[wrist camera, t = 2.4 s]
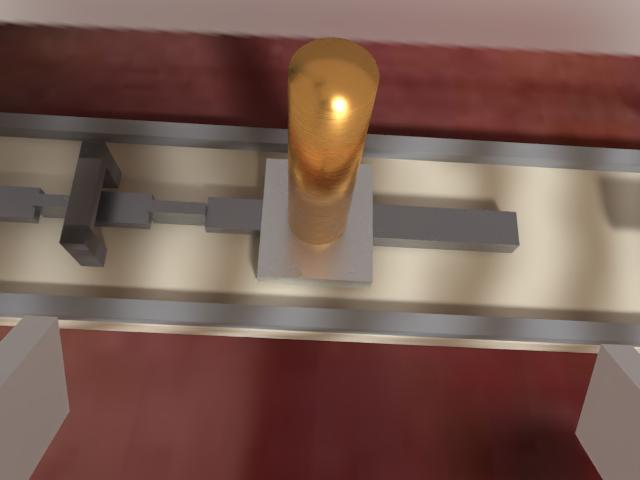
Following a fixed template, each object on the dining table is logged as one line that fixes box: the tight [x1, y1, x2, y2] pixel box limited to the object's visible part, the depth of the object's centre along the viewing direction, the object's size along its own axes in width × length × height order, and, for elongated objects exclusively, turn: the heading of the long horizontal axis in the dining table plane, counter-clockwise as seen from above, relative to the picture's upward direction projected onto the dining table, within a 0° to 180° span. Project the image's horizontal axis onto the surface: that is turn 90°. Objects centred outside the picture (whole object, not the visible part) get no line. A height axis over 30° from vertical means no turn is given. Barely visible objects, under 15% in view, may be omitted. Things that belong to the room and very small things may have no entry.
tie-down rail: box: [0, 112, 640, 354], centre depth 32 cm, size 49×12×5 cm, turn 88°
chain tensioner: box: [0, 38, 520, 289], centre depth 26 cm, size 32×7×13 cm, turn 88°
